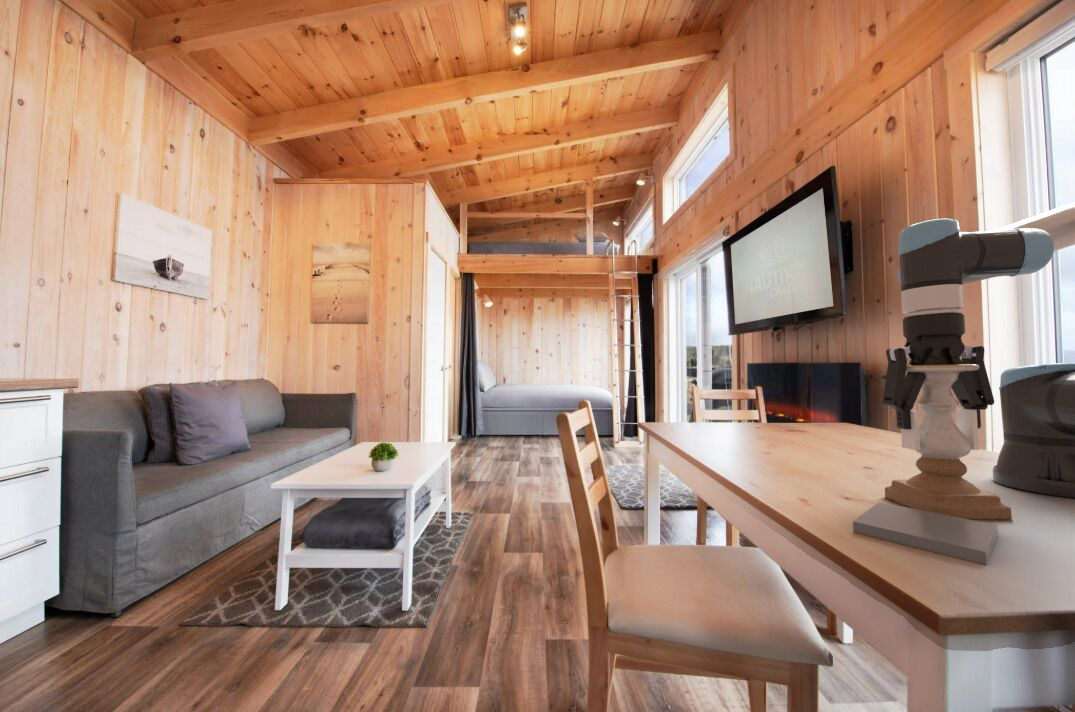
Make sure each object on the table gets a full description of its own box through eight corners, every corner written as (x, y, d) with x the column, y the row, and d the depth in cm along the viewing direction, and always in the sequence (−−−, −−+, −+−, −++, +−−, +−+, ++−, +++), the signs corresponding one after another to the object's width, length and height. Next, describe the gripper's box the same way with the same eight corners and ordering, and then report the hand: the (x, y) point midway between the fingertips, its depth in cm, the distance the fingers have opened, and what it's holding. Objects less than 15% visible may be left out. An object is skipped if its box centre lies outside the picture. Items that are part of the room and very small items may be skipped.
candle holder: (948, 497, 73) (941, 364, 73) (1014, 520, 62) (1004, 363, 62) (883, 497, 74) (876, 365, 74) (936, 519, 63) (927, 365, 64)
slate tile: (879, 511, 67) (878, 502, 67) (998, 535, 56) (997, 524, 56) (853, 531, 59) (852, 521, 59) (986, 564, 48) (985, 552, 48)
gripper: (976, 314, 72) (984, 443, 71) (851, 318, 73) (857, 444, 72) (1024, 308, 64) (1033, 452, 63) (883, 312, 66) (890, 453, 65)
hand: (939, 448), depth 68 cm, fingers open, 8 cm apart
